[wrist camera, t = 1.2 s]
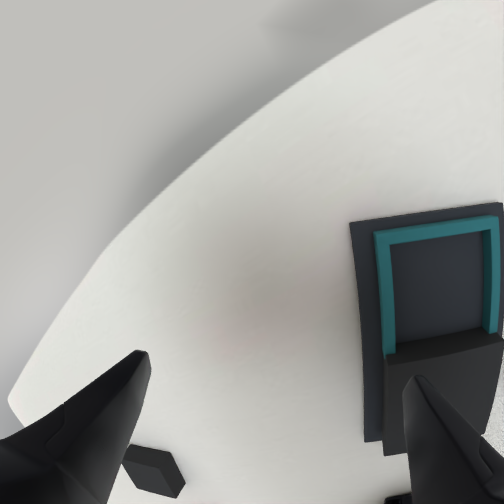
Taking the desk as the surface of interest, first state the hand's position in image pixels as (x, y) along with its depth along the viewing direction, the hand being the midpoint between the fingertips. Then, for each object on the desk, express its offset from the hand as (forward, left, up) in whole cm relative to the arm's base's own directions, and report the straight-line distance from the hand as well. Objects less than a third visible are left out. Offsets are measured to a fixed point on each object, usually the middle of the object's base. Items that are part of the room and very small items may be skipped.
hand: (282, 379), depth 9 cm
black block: (-22, +21, -13) cm, 33 cm away
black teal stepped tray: (-6, -9, -13) cm, 17 cm away
